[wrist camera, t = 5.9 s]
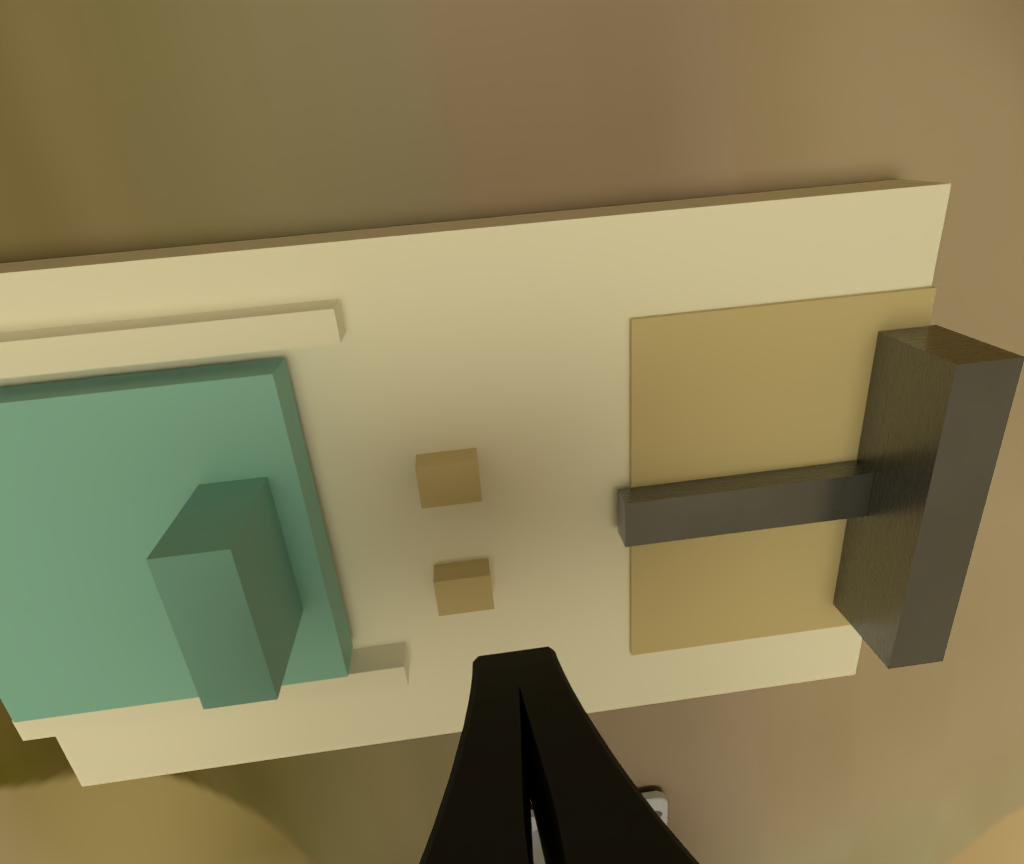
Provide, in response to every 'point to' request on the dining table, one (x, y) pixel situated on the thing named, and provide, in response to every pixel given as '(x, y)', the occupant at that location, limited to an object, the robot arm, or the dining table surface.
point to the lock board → (517, 440)
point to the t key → (876, 490)
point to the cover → (161, 543)
